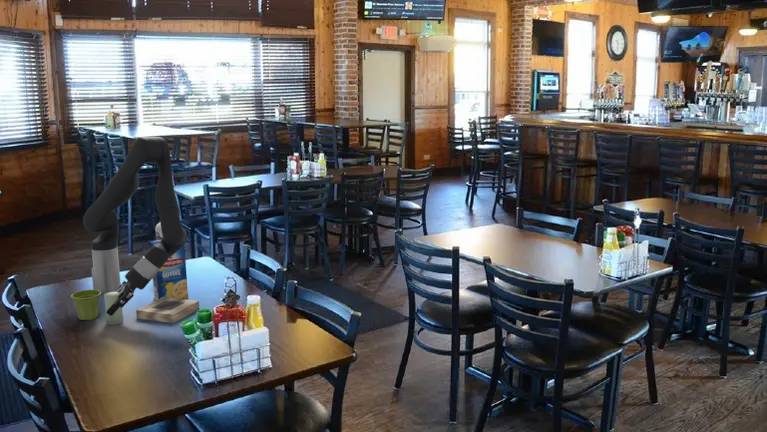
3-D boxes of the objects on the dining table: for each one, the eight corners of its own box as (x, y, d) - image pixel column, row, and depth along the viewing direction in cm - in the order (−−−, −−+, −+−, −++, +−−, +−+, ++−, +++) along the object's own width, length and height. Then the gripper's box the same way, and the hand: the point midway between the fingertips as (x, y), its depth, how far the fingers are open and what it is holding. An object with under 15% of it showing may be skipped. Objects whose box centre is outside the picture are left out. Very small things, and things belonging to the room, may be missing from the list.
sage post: (103, 324, 226) (100, 295, 224) (114, 319, 231) (111, 291, 229) (115, 325, 224) (113, 297, 222) (126, 320, 229) (124, 292, 227)
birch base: (136, 318, 231) (136, 309, 231) (164, 304, 245) (163, 296, 244) (173, 323, 226) (172, 314, 226) (199, 308, 240) (198, 300, 240)
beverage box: (188, 297, 253) (184, 240, 249) (158, 303, 247) (154, 244, 243) (182, 293, 259) (179, 237, 254) (153, 298, 253) (149, 241, 248)
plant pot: (108, 317, 233) (105, 293, 231) (80, 324, 226) (78, 299, 224) (96, 311, 239) (93, 287, 237) (69, 318, 232) (66, 294, 230)
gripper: (131, 261, 233) (97, 299, 231) (136, 271, 221) (100, 311, 218) (148, 273, 237) (115, 311, 234) (154, 284, 224) (118, 324, 221)
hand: (108, 311), depth 226 cm, fingers closed on sage post, 5 cm apart
